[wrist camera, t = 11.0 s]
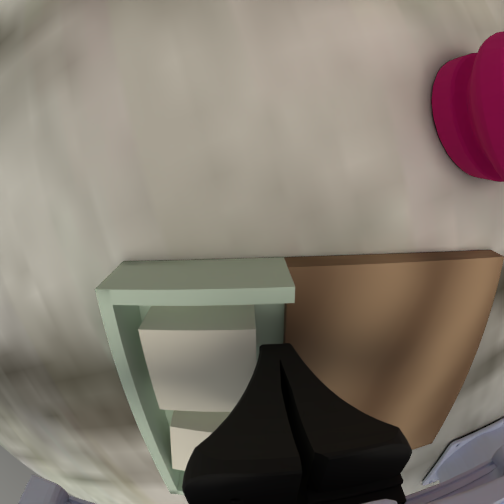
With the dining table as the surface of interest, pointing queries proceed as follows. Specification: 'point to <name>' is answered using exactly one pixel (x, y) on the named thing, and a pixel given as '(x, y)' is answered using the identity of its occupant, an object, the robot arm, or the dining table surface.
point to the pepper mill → (473, 109)
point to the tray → (183, 294)
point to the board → (393, 329)
